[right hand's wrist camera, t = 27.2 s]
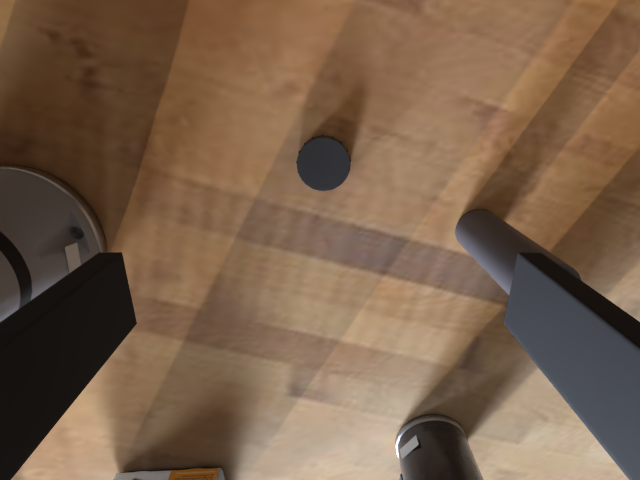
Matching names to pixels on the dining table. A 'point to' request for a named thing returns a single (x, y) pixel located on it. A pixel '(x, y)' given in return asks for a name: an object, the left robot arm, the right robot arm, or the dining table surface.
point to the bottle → (498, 245)
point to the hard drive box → (174, 475)
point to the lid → (323, 163)
